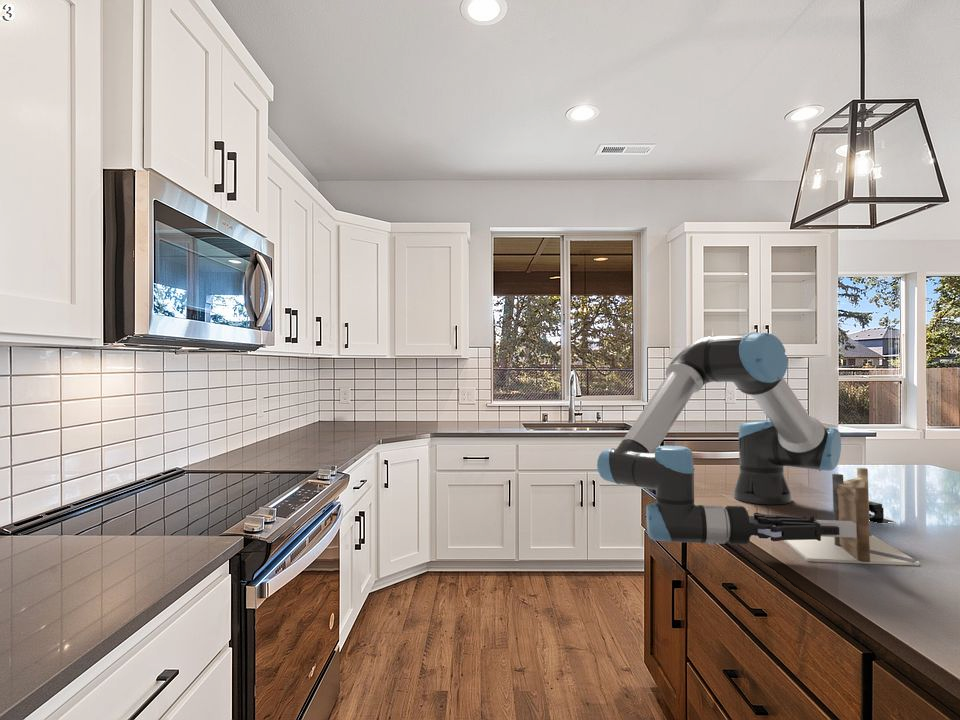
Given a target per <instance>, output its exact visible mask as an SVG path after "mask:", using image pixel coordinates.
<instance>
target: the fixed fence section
mask: <svg viewBox="0 0 960 720" xmlns="http://www.w3.org/2000/svg"><path fill="white" fill-rule="evenodd" d="M868 469H869V468H866V467H857V468H856V475H857V477H854V478H852V479H847V480H844V474H841V473H832V475H831V477H832V479H831V480H832V500H833V501H832V504H833V505H832V508H833V520H835V521H839V508H838V494H837V488H838V484H846V485H848V486H850V487H852V488H854V489H855V487H866V488H868V489H869V474H868V473H869V472H868V471H869V470H868ZM869 494H870V493H868V516H869V514H870V511H869V501H870V499H869ZM870 530H871V527H870V522H869V536H870V534H871V531H870ZM834 542H835V545H836V546H841V545H840V538H839V537H834ZM842 547H843V546H842Z"/></svg>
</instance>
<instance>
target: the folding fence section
mask: <svg viewBox="0 0 960 720" xmlns="http://www.w3.org/2000/svg"><path fill="white" fill-rule="evenodd" d="M837 494H838V508H839V521H852V522H853V523H856V531H857V538H851V537H839V538H840V545H841V546H843V547H844V548H845V549H846V550H848V551H849V552H850V553H852V554H853V555H854V556H855V557H857V558H858V560H859V561H862V562H870V545H869V523H870V521H869V516H868V494H869V487H868V488H866V487H855V489H854V488H852V487H850V486H848V485H846V484H838V488H837Z"/></svg>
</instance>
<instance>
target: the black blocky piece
mask: <svg viewBox="0 0 960 720" xmlns="http://www.w3.org/2000/svg"><path fill="white" fill-rule="evenodd" d="M869 512H870V513H869V520H870V521H873V522H872V523H874V522H877V523H876V524H878V523H888V522H894V520H890V519H888V518H887V519H886V518H885V515H884V514H885V513H884V507H883V504H882V503H879V502H874V501H870V500H869ZM872 513H873V514H872ZM870 521H869V522H870ZM888 524H889V523H888Z"/></svg>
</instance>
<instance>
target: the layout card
mask: <svg viewBox="0 0 960 720" xmlns="http://www.w3.org/2000/svg"><path fill="white" fill-rule="evenodd" d="M782 541H783V542H784V543H785V544H786V545H787V546H789V547H790V548H791V549H792V550H794V551H795V552H796V553H797V554H798V555H799V556H800V557H802V558H803V559H804V560H805V561H807V562H817V563H840V564H841V563H843V564H844V563H845V564H846V563H847V564H868V565H869V564H870V565H871V564H873V565H894V566H895V565H896V566H919V565H921V564H920V562H921V561H918V559H914V558H912V557H911V556H909V555H907V554H906V553H904V552H902V551H900V550H898V549H897V548H895V547H893V546H891V545H890V544H888V543H886V542H884V541H883V540H881V539H879V538H878V537H876V536H874V535H873V534H871V533H870V536H869V545H870V562H862V561H859V560H858V558H857V557H855V556H854V555H853V554H852V553H850V552H849V551H848V550H846V549H845V548H844V547H842V546H836V545H835V542H834V537H825V536H821V541H818V540H782Z"/></svg>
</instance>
